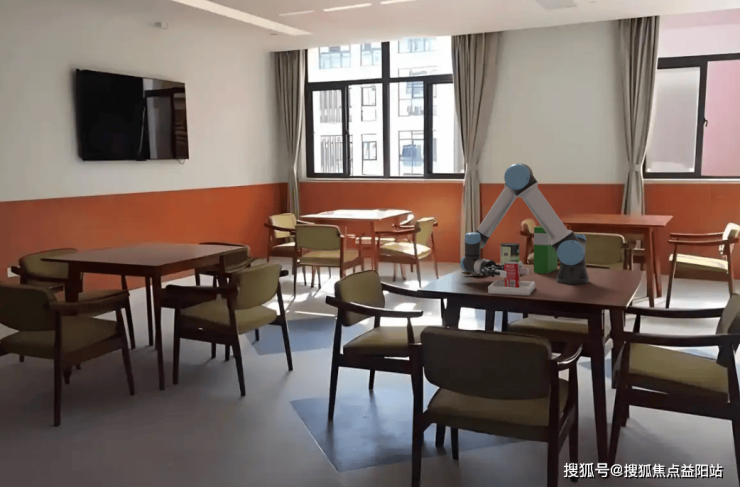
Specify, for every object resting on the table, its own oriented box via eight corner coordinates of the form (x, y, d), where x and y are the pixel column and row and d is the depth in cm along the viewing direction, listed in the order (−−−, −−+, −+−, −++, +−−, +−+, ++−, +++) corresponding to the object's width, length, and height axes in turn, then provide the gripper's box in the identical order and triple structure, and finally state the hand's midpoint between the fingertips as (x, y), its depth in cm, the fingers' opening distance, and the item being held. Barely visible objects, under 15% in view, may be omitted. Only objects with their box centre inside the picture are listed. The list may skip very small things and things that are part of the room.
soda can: (514, 286, 303) (514, 260, 302) (522, 289, 296) (522, 262, 295) (501, 287, 301) (500, 261, 300) (508, 290, 294) (508, 263, 293)
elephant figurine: (516, 272, 348) (516, 259, 347) (525, 275, 339) (525, 261, 338) (503, 273, 346) (503, 260, 345) (511, 276, 337) (512, 262, 336)
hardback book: (543, 268, 362) (544, 224, 359) (557, 268, 358) (558, 224, 355) (533, 272, 347) (534, 227, 344) (547, 273, 343) (548, 227, 340)
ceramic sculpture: (494, 258, 342) (477, 263, 331) (494, 274, 343) (478, 280, 332) (477, 256, 349) (460, 261, 338) (477, 272, 350) (461, 278, 340)
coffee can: (519, 268, 363) (519, 242, 362) (519, 271, 353) (519, 244, 352) (500, 267, 365) (500, 242, 364) (500, 270, 355) (500, 244, 354)
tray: (534, 288, 304) (534, 281, 304) (529, 295, 287) (529, 288, 287) (495, 286, 310) (495, 279, 310) (488, 293, 294) (488, 286, 293)
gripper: (505, 272, 320) (537, 278, 302) (465, 277, 307) (495, 284, 289) (505, 257, 319) (537, 262, 301) (465, 261, 306) (495, 267, 288)
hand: (517, 273), depth 295 cm, fingers open, 13 cm apart
